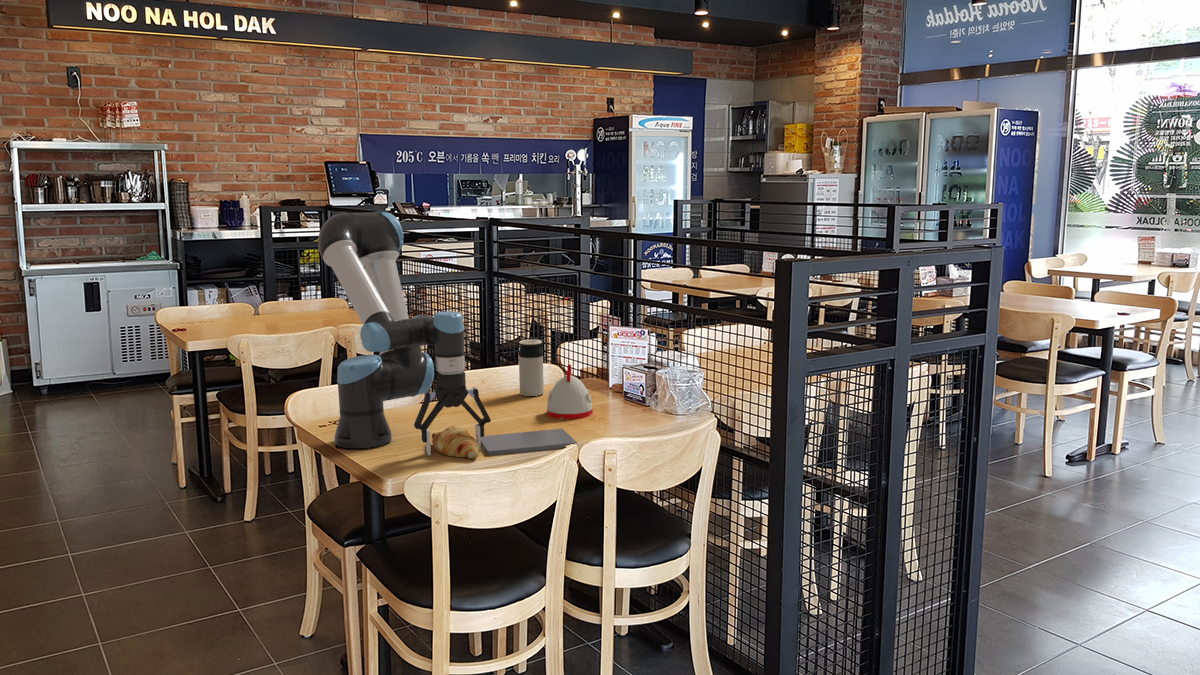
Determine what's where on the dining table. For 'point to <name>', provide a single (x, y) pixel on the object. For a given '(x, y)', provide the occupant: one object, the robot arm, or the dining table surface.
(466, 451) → the croissant
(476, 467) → the dining table surface
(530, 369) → the travel mug
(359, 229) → the robot arm
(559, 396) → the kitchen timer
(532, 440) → the slate board
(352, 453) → the dining table surface
